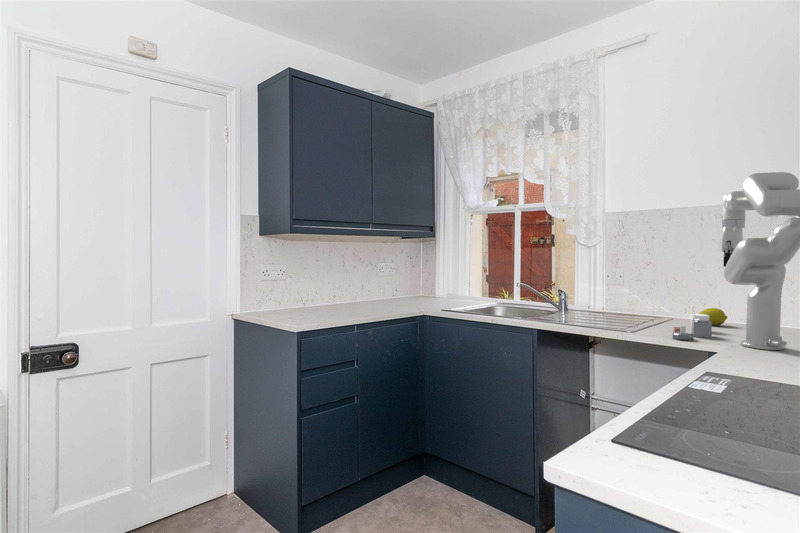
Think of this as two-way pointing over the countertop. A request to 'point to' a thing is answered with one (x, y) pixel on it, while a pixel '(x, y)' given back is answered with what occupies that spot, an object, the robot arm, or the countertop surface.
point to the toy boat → (681, 334)
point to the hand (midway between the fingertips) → (732, 266)
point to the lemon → (715, 316)
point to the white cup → (701, 316)
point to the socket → (701, 328)
